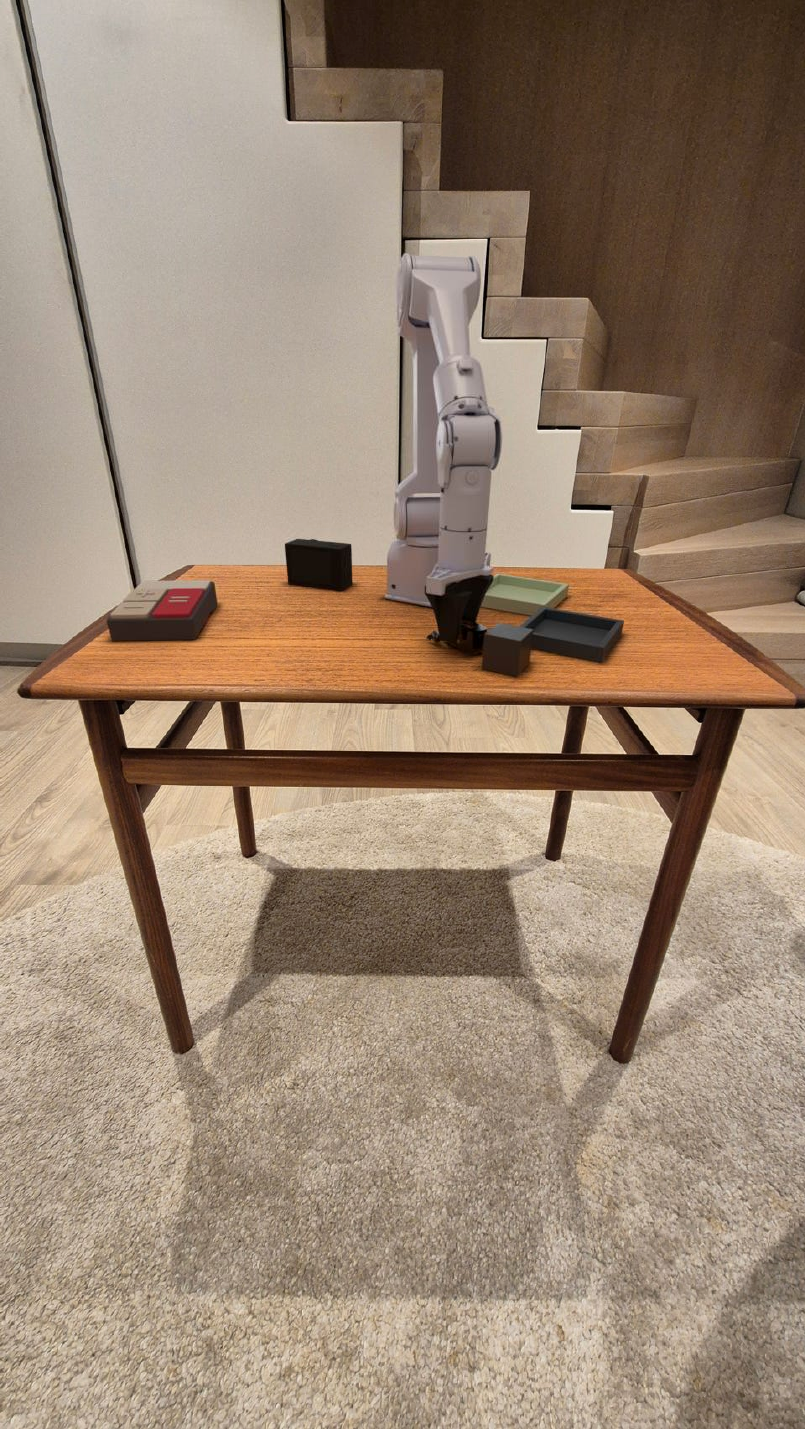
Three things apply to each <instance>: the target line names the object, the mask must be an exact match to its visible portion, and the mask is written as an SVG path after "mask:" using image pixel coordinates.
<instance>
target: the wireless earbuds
mask: <svg viewBox="0 0 805 1429" xmlns="http://www.w3.org/2000/svg"><path fill="white" fill-rule="evenodd" d="M487 631H488V627H487V626H485V625H482V624H481V623H478V622H477V621H476V622H474V621H472V620H470V619H468V618H466V617H464V616H462V621H461V627H460V633H459V637H458V640H457V642H456V643H450V642H446V643H448V644H449V645H451V646H453V647H455V648H457V649H458V650H461V651H462V652H464V653H466V654H467V655H470V656H473V655H477V654H481V653H483V644H484V634H485V633H486V632H487ZM426 639H427V640H428V641H431V640H432V642H434V643H435V644H438V643H441V640H440V636H439V632H438V630H432V631H431V632H430V633H428V634H427V636H426Z"/></svg>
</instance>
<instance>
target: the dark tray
mask: <svg viewBox="0 0 805 1429" xmlns="http://www.w3.org/2000/svg"><path fill="white" fill-rule="evenodd" d="M624 624H625V620H622V619H618V618H617V619H616V618H612V617H605V616H599V615H593V614H588V613H581V612H576V611H570V610H565V609H558V608H547V607H541V608H540V609H539V610H538V611H537V612H536V613H534V614H533V615H532V616H529V617H528V618H526V620H525V621H523V623H521V624H520V625H519V626H518V627H523V628H528V629H533V638H532V647H531V650H537V651H541V652H548V653H552V654H558V655H562V656H567V657H570V658H571V657H572V658H576V659H580V660H581V659H582V660H587V661H592V662H596V663H602V662H603V661H604V660H605V659H606V657H607V656H608V654H609V653H610V652H611V650H612V648H613V647H614V646H615V645H616V643H617V641H618V640H619V639H620V637H621V635H622V634H623V631H624V630H623V629H624Z"/></svg>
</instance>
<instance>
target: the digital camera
mask: <svg viewBox="0 0 805 1429" xmlns="http://www.w3.org/2000/svg"><path fill="white" fill-rule="evenodd" d="M352 550H353V548H352V543H347V542H336V541H326V540H325V541H324V540H318V539H315V538H311V539H306V538H296V539H292V540H291V541H288V542H285V543H284V554H285V562H286V564H285V565H286V566H285V567H286V574H287V575H286V577H287V585H294V586H299V587H308V588H315V589H323V590H332V591H340V592H343V591H345V590H346V589H347V588H349V587H351V586H352V585H354V584H353V582H354V581H353V551H352Z"/></svg>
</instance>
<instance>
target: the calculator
mask: <svg viewBox="0 0 805 1429" xmlns="http://www.w3.org/2000/svg"><path fill="white" fill-rule="evenodd" d="M217 606H218V597H217V590H216V584H215V582H214V581H211V580H209V579H198V580H197V579H193V580H191V579H190V580H188V579H187V580H186V579H185V580H183V579H181V580H142V581H141V582H139V583H138V585H137V586H136V587H135V588H134V589H132V590H131V591H130V592H129V593H128V594H127V595H126V597H125V598H123V601H121V602H119V604H118V605H117V606H116V607H115V608H114V609H113V610H112V612H110V613H109V614H110V615H109V616H108V617H107V618H106V624H107V628H108V632H109V636H110V639H111V641H113V642H118V641H119V642H121V641H122V642H123V641H124V642H127V641H128V642H130V641H131V642H132V641H181V640H183V641H184V640H186V641H190V640H196V639H197V638H198V636H199V634H200V632H201V631H202V628H203V626H204V625H205V623H206V621H207V619H208V618H209V616H210V614H211V613H214V612H215V609H216V607H217Z"/></svg>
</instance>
